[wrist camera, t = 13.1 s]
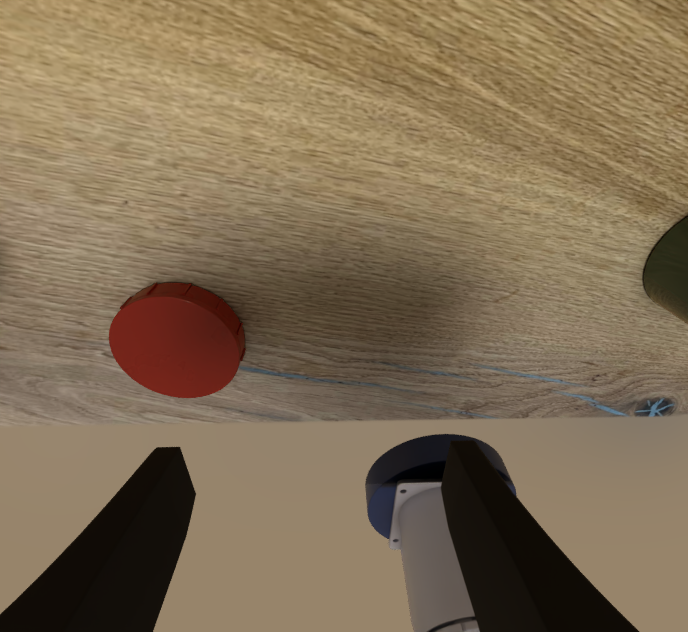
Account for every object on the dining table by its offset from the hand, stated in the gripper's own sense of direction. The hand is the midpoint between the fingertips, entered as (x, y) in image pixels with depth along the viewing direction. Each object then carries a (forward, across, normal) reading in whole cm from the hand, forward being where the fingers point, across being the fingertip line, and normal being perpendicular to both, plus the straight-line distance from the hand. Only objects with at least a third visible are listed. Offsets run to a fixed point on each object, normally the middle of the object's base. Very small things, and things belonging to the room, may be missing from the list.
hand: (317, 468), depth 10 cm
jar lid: (+8, +7, +2) cm, 10 cm away
